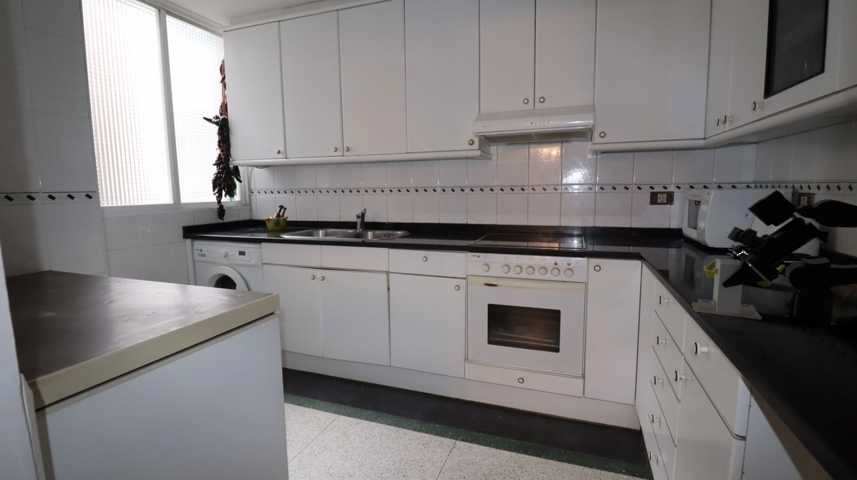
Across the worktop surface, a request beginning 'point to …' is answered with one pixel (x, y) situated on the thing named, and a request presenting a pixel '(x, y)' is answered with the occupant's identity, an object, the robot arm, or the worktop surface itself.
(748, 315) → the rail
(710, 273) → the plastic component
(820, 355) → the worktop surface
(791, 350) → the worktop surface
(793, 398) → the worktop surface
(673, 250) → the worktop surface
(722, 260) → the block
